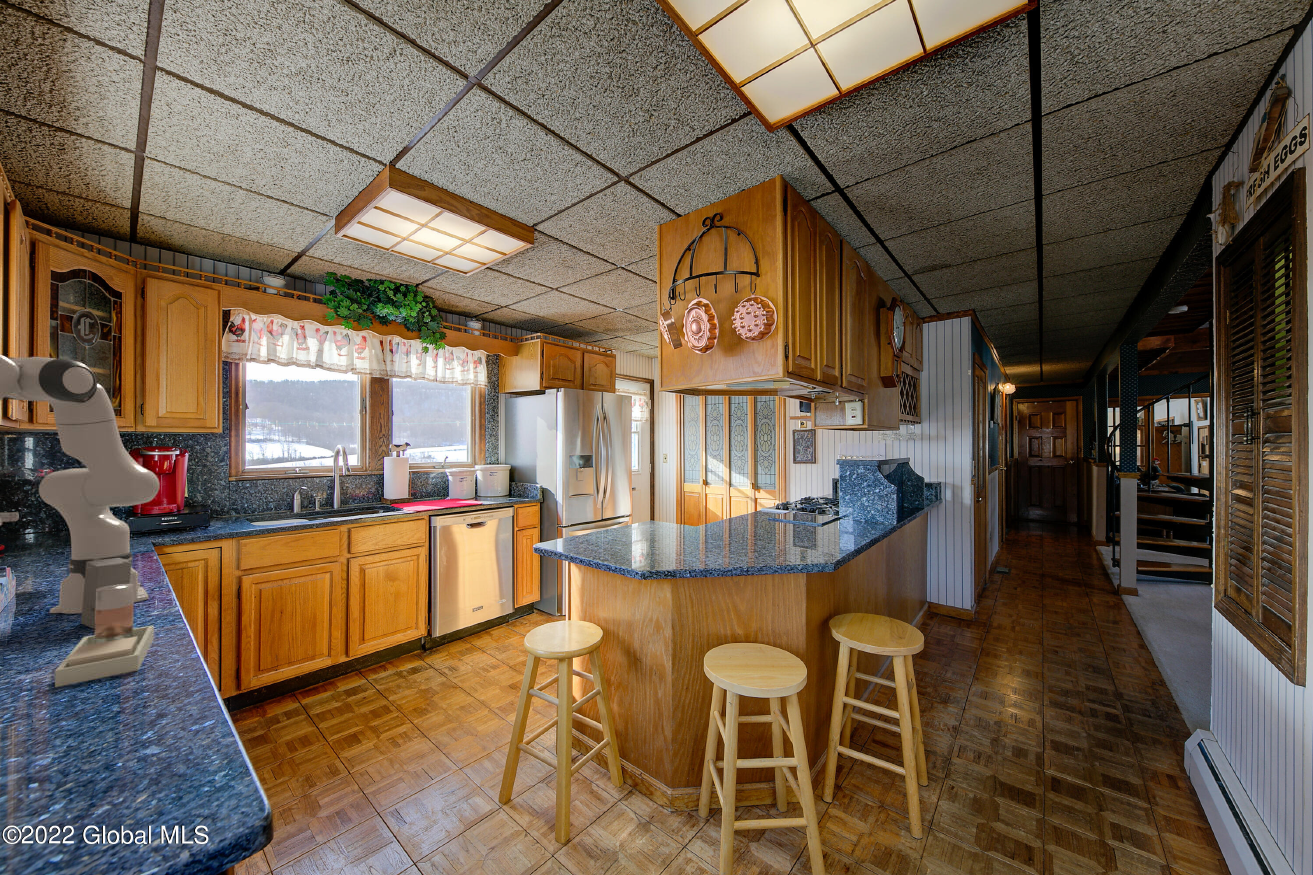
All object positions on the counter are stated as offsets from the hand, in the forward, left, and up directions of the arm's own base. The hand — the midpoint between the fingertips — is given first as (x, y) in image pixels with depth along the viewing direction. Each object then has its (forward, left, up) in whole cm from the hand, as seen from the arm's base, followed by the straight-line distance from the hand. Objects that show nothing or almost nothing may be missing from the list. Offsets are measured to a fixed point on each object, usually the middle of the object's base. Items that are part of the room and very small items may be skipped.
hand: (9, 519), depth 107 cm
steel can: (+12, +17, -29) cm, 36 cm away
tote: (+17, +17, -30) cm, 38 cm away
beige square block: (+22, +17, -29) cm, 40 cm away
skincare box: (-20, +11, -30) cm, 38 cm away
